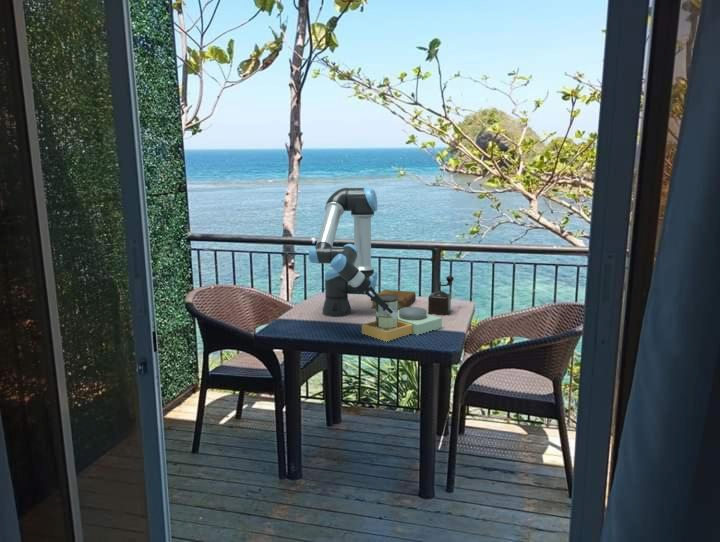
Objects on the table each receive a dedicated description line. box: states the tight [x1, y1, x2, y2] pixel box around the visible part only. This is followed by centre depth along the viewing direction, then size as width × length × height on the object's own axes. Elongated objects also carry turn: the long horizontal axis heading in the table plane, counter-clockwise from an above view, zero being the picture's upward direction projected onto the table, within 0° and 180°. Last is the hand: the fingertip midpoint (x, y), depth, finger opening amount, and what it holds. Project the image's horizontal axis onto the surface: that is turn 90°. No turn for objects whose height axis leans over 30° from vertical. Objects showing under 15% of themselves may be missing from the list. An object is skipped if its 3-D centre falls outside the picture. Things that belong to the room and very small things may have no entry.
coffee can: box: [375, 294, 399, 330], centre depth 262 cm, size 10×10×14 cm
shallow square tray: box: [361, 320, 413, 343], centre depth 264 cm, size 16×16×4 cm
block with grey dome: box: [398, 306, 443, 336], centre depth 274 cm, size 22×17×8 cm
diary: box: [370, 289, 417, 310], centre depth 316 cm, size 23×19×6 cm
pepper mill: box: [427, 275, 455, 316], centre depth 300 cm, size 16×11×18 cm
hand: (393, 313), depth 263 cm, fingers closed on coffee can, 10 cm apart
